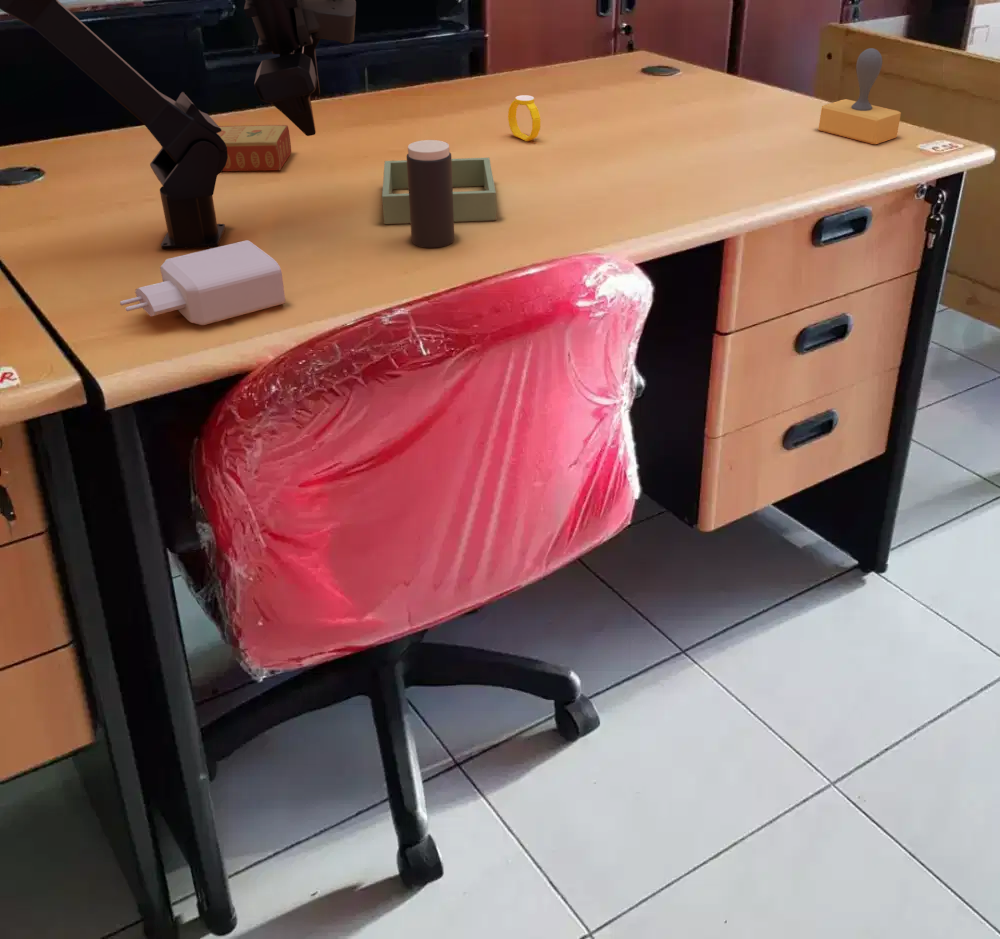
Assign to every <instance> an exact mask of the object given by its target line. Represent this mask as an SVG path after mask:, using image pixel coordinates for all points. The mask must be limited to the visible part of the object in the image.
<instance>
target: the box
mask: <svg viewBox="0 0 1000 939" xmlns="http://www.w3.org/2000/svg"><path fill="white" fill-rule="evenodd" d="M451 159H452V186H453V188H460V187H461V188H463V187H466V188H467V187H484V190H466V191H465V190H464V191H453V212H454V223H457V222H459V223H460V222H485V221H497V192H496V191H497V190H496V185H495V180H494V175H493V170H492V164H491V160H490V157H471V158H470V157H467V158H466V157H465V158H463V157H461V158H451ZM383 166H384V167H383V179H382V191H381V194H382V195H381V201H382V202H381V203H382V216H383V225H396V224H397V225H398V224H399V225H400V224H401V225H402V224H411V222H410V205H409V192H407V193H406V192H405V193H404V192H403V193H393V190H404V189H408V173H407V159H406V160H405V159H404V160H403V159H402V160H384V164H383ZM408 190H409V189H408Z"/></svg>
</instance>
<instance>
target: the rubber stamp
mask: <svg viewBox="0 0 1000 939" xmlns="http://www.w3.org/2000/svg"><path fill="white" fill-rule="evenodd" d="M882 66H883V56H882V54H881V52H880V51H879V50H878V49H877V48H872V47H870V48H866V49H865V50H863V51H862V52H860V54H859V55H858V57H857V60H856V66H855V67H856V68H855V70H856V77H857V82H858V87H859V96H858V98H857V100H852V99H846V98H844V99H841V100H837V101H834V102H830V103H827V104H823V105H821V109H820V115H819V116H820V117H819V123H818V129H817V130H818V131H820V132H824V133H828V134H831V135H835V136H840V137H844V138H847V139H851V140H854V141H855V140H856V141H859V142H862V143H866V144H871V145H877V144H881V143H884V142H886V141H889V140H893V139H896V138H897V137H898V132H899V127H900V121H901V115H902V112H900V111H899V110H896V109H890V108H886V107H882V106H878V105H873V104H871V102H870V101H869V95H870V92H871V89H872V87H873V86H874V83H875V82H876V80H877V78H878V76H879V74H880V72H881V71H882V68H883V67H882Z"/></svg>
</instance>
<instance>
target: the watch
mask: <svg viewBox="0 0 1000 939" xmlns="http://www.w3.org/2000/svg"><path fill="white" fill-rule="evenodd" d="M519 106H525V107H526V108H527V110H528V111H529V113H530V117H531V120H532V121H531V131H530V134H529V135H527V134H526V133H524V132H522V131H521V129H520V127H519V124H518V120H517V111H518V107H519ZM507 113H508V114H507V121H508V127H509V129H510V131H511V133H512V135H513V137H516V138H518V139H521V140H522V141H525V142H530V141H533V140H535V139H536V138H537V137H538V136H539V133H540V132H541V131H540V130H541V121H542V120H541V119H542V118H541V115H540V111H539V109H538V107H537V106H536V104H535V97H534V96H532V95H527V94H524V95H523V94H521V95H517V96H515V98H514V100H513V101H511V103H510V105H509V107H508V111H507Z"/></svg>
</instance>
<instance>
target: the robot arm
mask: <svg viewBox="0 0 1000 939" xmlns="http://www.w3.org/2000/svg"><path fill="white" fill-rule="evenodd" d="M0 10H1V11H2V12H4V13H6V14H8V16H9V15H10V16H11V17H13V18H15V19H17V20H18V21H21V22H22V23H23V24H26V26H29V27H31V28H32V29H34V30H35V31H36V32H38V33H39V35H41V36H42V37H43V38H45V39H46V40H47V41H48V42H49V43H50V44H52V46H54V47H55V48H56V49H57V50H58V51H60V53H62V55H64V56H65V58H67V59H68V60H70V61H71V62H72V63H73V64H74V65H75V66H77V67H78V68H79V69H80V70H81V71H82V72H84V73H85V74H86V75H87V76H88V77H89V78H91V79H92V81H93V82H95V83H96V84H97V85H99V87H101V88H102V89H103V90H104V91H106V92H107V93H108V94H109V95H110V96H111V97H113V98H114V99H115V100H116V101H117V102H118V103H119V104H121V106H122V107H124V109H126V110H127V111H128V112H130V114H131V115H133V116H134V117H135V118H136V119H137V120H139V122H141V123H142V124H143V125H144V126H145V128H146V129H147V130H148V131H149V133H150V134H151V135H152V136H153V137H154V139H155V140H156V142H158V143H159V145H160V146H161V148H160V150H159V151H158V152H157V153H156V155H155V156H154V157H153V158H152V160H151V162H150V163H149V167H150V169H151V170H152V172H153V173H154V175H155V177H156V178H157V180H158V181H159V182H160V184H161V187H160V188H159V194H160V200H161V205H162V210H163V215H164V220H165V225H166V230H167V232H166V234H165V236H164V238H163V240H162V241H161V243H160V247H161V249H162V250H179V249H204V248H205V249H206V248H208V249H211V248H216V247H220V243H221V241H222V238H223V236H224V234H225V231H226V224H224V223H218V222H217V221H218V220H217V214H216V210H215V202H214V198H213V197H214V196H213V195H214V193H215V187H216V182H217V178H218V175H220V173H222V172H223V171H222V170H223V168H224V167H225V165H226V162H227V158H228V154H227V146H226V144H225V142H224V141H223V140H222V138H221V137H220V136H219V135H218V132H221V128H220V127H219V126H220V125H218V124H217V123H216V122H215V121H214V119H213V117H211V116H210V114H208V113H206V112H203V111H201V110H200V109H199V108H197V106H196V105H195V104H194V102H192V100H191V99H190V98H189V97H188V95H187V94H185V92H184V91H181V93H180V94H179V96H178V97H177V99H176V100H174V99H172V98H171V97H169V96H167V95H166V94H163V93H162V92H160V90H157V88H155V87H154V85H153V84H151V83H150V81H148V80H146V79H145V77H143V76H142V75H141V74H140V73H139V72H138V71H137V70H136V69H134V68H133V66H131V65H130V64H129V63H128V62H127V61H126V60H124V59H123V58H122V57H121V56H120V55H119V54H118V53H117V52H116V51H115V50H113V49H112V47H111V46H109V45H108V44H107V43H106V42H105V41H104V40H102V39H101V38H100V37H99V36H98V35H97V34H96V33H95V32H94V31H92V30H91V29H90V27H88V26H87V25H86V24H85V23H83V21H82V20H80V19H79V18H78V17H77V16H76V15H75V14H74V13H73V12H71V11H70V9H68V8H67V7H66V6H65V5H64V4H63V3H61V2H60V0H0ZM243 11H244V14H245V17H246V18H247V19H252V22H253V24H254V27H255V30H256V33H257V35H258V42H257V48H258V51H259V54H260V55H262V54H267V53H271V54H272V55H279V56H277V57H272V58H268V59H263V60H261V62H260V64H259V66H258V68H257V69H256V73H255V79H254V83H253V84H254V88H255V91H256V93H257V95H258V99H259V100H260V101H261V102H265V103H268V104H271V105H272V106H274V107H275V108H276V109H277V110H278V111H279V112H281V113H282V114H283V115H284V116H285V117H286V118H287V119H288V120H289V121H290V122H292V123H293V125H295V127H297V128H298V129H299V130H300V132H302V133H303V134H304V135H305V136H307V137H310V136H311V137H312V136H315V135H316V133H317V131H316V124H315V118H314V112H313V105H312V101H311V98H315V97H316V98H317V97H319V96H320V95H321V90H320V89H321V88H320V81H319V80H320V79H319V72H318V62H317V53H316V52H317V51H316V48H317V46H318V44H319V43H320V40H328V41H329V40H330V41H337V42H339V43H340V44H352V43H353V42H354V41H355V30H356V28H355V27H356V12H357V1H356V0H245V3H244V7H243Z"/></svg>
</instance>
